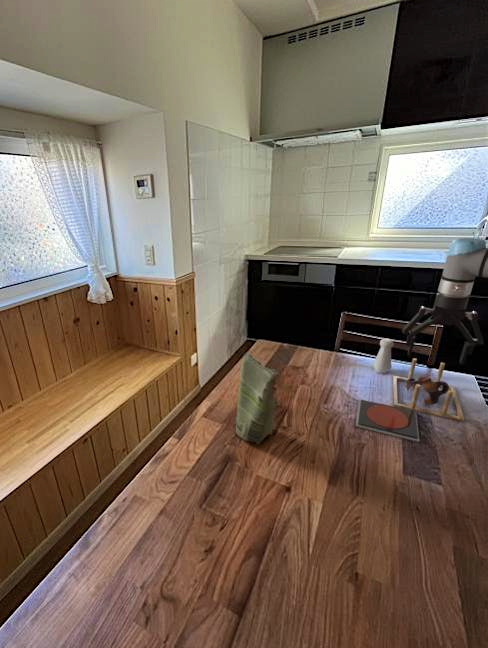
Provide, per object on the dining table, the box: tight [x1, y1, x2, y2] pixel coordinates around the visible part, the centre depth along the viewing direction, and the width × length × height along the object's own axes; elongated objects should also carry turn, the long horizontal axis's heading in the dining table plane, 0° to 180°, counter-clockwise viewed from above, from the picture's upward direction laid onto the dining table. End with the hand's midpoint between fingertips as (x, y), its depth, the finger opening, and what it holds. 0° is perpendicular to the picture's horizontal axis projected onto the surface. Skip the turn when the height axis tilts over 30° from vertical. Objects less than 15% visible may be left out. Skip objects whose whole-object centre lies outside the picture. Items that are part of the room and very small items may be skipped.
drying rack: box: [392, 357, 465, 422], centre depth 110 cm, size 18×19×9 cm
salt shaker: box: [373, 338, 395, 375], centre depth 125 cm, size 6×6×13 cm
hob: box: [355, 399, 421, 443], centre depth 102 cm, size 16×14×1 cm
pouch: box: [235, 352, 279, 445], centre depth 95 cm, size 11×12×25 cm
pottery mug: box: [404, 376, 450, 406], centre depth 111 cm, size 12×10×8 cm
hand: (434, 358), depth 106 cm, fingers open, 13 cm apart
